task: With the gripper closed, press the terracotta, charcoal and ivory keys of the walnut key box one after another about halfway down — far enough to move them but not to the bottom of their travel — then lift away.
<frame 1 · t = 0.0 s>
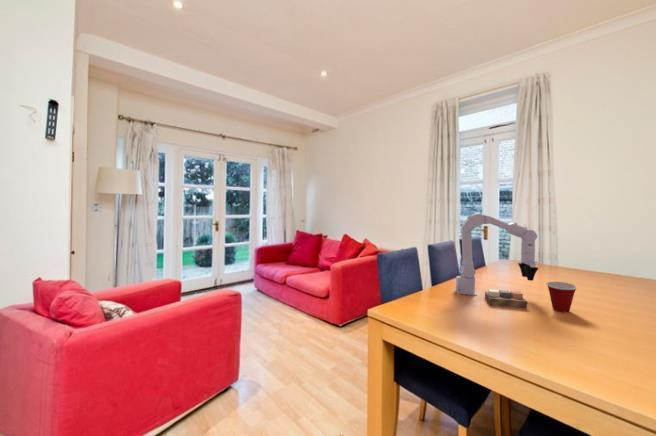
hand: (527, 278, 142), 10 cm above the table, fingers open, 7 cm apart
key box: (504, 303, 134), on the table
ivory key: (493, 293, 136), point 4 cm above the table, slide at 0.0 cm
charcoal key: (504, 294, 134), point 4 cm above the table, slide at 0.0 cm
terracotta key: (516, 295, 133), point 4 cm above the table, slide at 0.0 cm
plastic cup: (560, 310, 125), on the table
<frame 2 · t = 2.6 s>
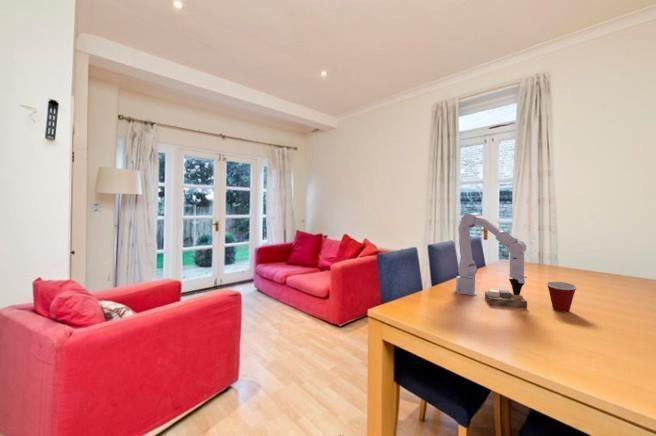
hand: (516, 294, 132), 5 cm above the table, fingers closed, pressing on terracotta key
terracotta key: (516, 297, 133), point 3 cm above the table, slide at 0.9 cm, touching gripper
everything else where it was.
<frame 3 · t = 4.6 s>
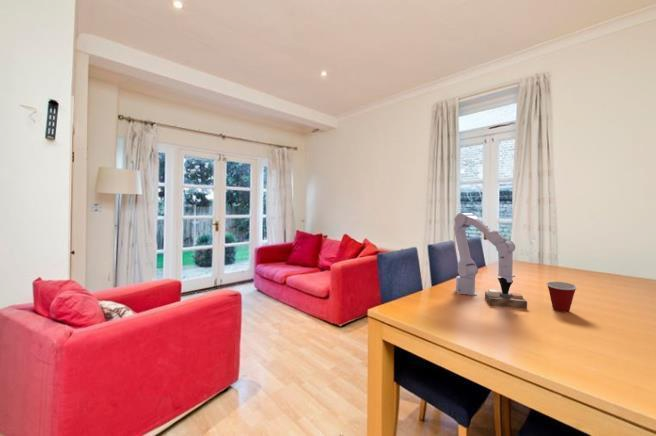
hand: (505, 293, 134), 5 cm above the table, fingers closed, pressing on charcoal key
charcoal key: (504, 296, 134), point 3 cm above the table, slide at 0.9 cm, touching gripper
terracotta key: (516, 297, 133), point 3 cm above the table, slide at 0.9 cm
everything else where it was.
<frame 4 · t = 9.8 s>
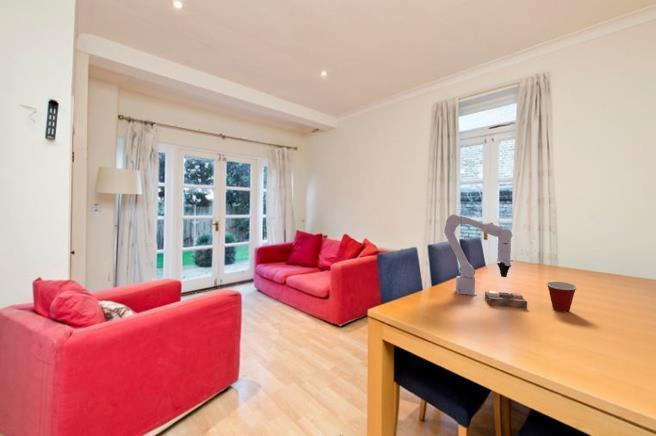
hand: (503, 276, 145), 10 cm above the table, fingers closed
ivory key: (493, 295, 136), point 4 cm above the table, slide at 0.7 cm
charcoal key: (504, 297, 134), point 3 cm above the table, slide at 1.1 cm
everything else where it was.
at the end: terracotta key slide at 0.9 cm; charcoal key slide at 1.1 cm; ivory key slide at 0.7 cm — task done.
